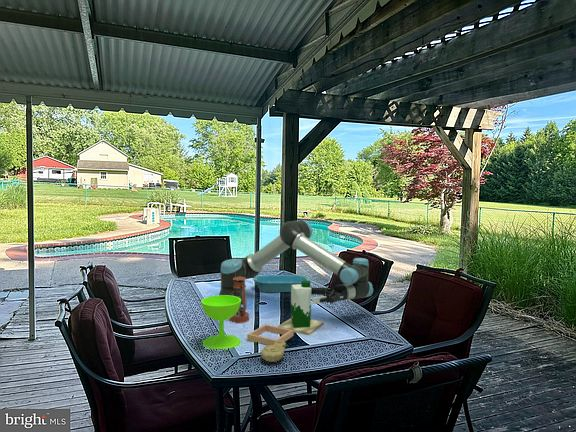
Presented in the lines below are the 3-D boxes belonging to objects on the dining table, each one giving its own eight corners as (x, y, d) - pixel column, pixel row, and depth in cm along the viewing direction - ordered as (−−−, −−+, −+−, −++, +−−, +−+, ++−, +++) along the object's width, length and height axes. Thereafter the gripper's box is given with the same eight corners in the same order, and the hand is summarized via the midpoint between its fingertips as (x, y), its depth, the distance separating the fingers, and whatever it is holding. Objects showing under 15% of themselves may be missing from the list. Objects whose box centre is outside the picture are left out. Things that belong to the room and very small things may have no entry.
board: (277, 328, 179) (277, 326, 178) (293, 318, 193) (293, 316, 193) (309, 335, 171) (309, 332, 171) (324, 324, 185) (324, 321, 185)
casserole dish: (307, 284, 263) (307, 273, 263) (313, 293, 241) (313, 281, 240) (252, 285, 259) (252, 274, 258) (253, 294, 237) (253, 282, 236)
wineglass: (206, 354, 150) (205, 308, 149) (198, 339, 165) (197, 297, 164) (246, 347, 157) (246, 303, 156) (235, 334, 171) (235, 293, 170)
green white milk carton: (312, 327, 177) (313, 283, 176) (292, 328, 176) (293, 284, 174) (308, 321, 186) (308, 279, 184) (289, 322, 184) (289, 280, 183)
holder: (247, 340, 165) (247, 334, 164) (265, 329, 177) (265, 324, 177) (276, 347, 158) (276, 341, 158) (293, 335, 170) (293, 330, 170)
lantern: (252, 317, 193) (253, 257, 191) (243, 324, 183) (243, 261, 181) (234, 315, 196) (235, 256, 194) (225, 322, 187) (225, 259, 185)
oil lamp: (284, 349, 156) (284, 336, 156) (291, 365, 142) (291, 351, 142) (257, 351, 154) (257, 338, 154) (262, 367, 140) (262, 353, 140)
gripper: (359, 306, 179) (319, 312, 170) (329, 293, 202) (293, 298, 192) (359, 290, 179) (319, 295, 170) (330, 279, 201) (293, 283, 192)
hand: (305, 297), depth 181 cm, fingers open, 13 cm apart
